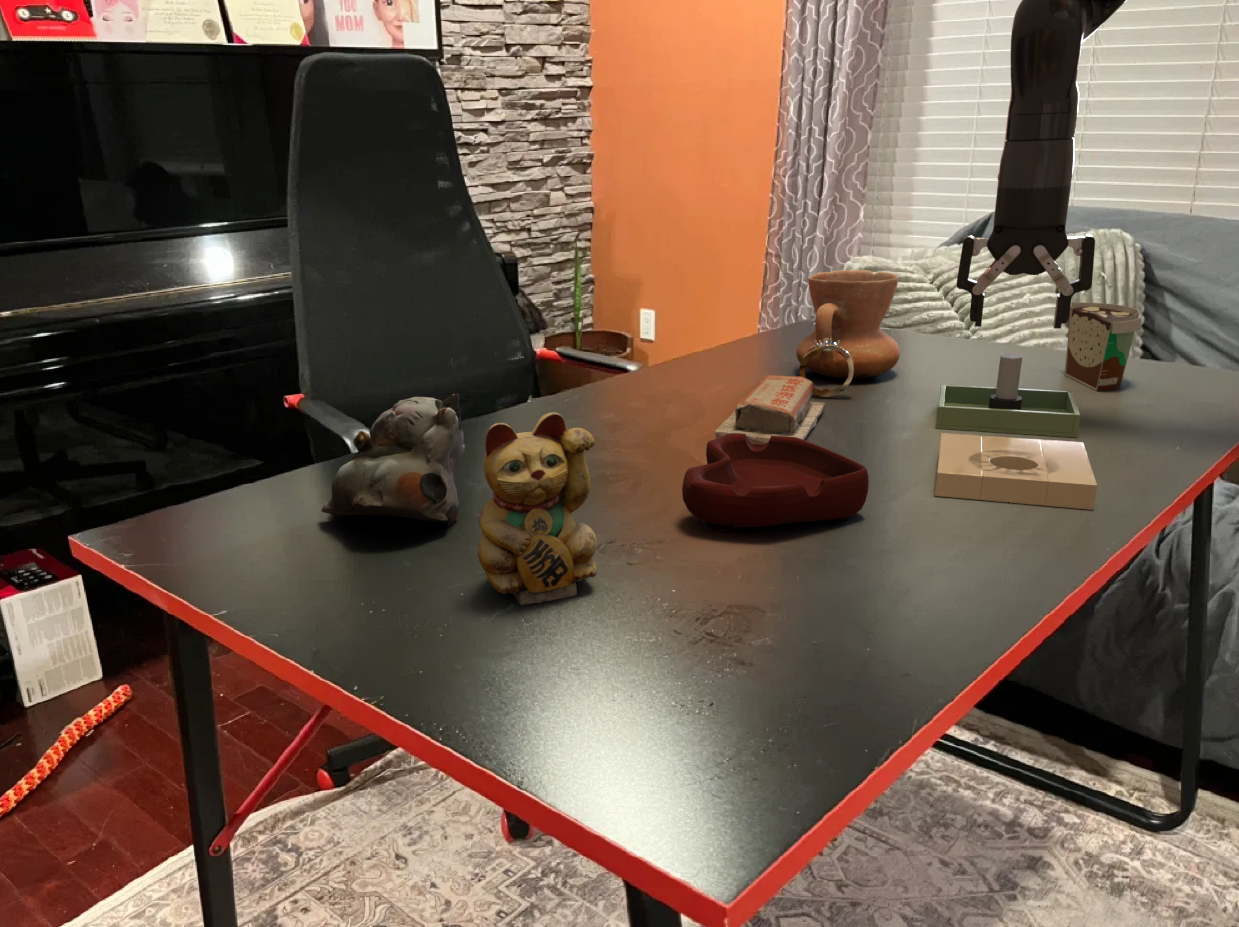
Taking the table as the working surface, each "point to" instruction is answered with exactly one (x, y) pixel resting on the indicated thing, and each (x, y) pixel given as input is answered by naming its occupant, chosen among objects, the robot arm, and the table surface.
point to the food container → (1100, 343)
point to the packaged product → (774, 410)
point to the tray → (1008, 412)
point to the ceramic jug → (851, 322)
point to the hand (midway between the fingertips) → (1017, 326)
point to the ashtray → (772, 483)
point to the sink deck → (1015, 471)
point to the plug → (1007, 384)
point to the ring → (828, 346)
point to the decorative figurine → (536, 511)
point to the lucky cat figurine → (404, 464)
